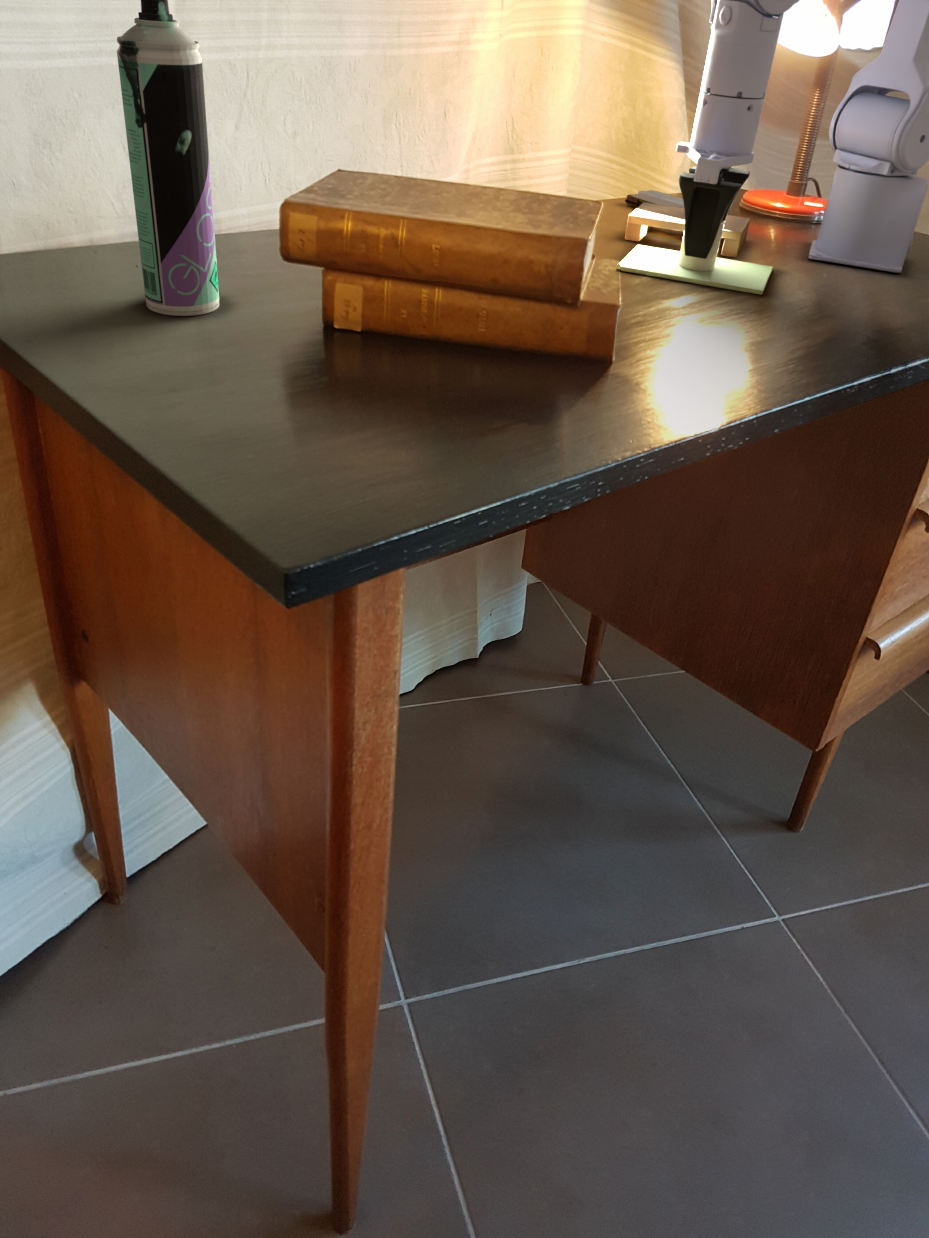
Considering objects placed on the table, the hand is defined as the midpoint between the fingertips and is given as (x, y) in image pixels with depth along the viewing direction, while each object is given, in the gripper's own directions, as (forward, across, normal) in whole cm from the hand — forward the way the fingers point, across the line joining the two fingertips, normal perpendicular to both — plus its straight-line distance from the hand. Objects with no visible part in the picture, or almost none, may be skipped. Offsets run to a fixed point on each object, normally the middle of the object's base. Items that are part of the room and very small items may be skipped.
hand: (699, 252), depth 93 cm
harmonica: (+2, -23, -6) cm, 24 cm away
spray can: (+2, +37, -34) cm, 50 cm away
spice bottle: (+1, 0, 0) cm, 1 cm away
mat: (+2, 0, 0) cm, 2 cm away
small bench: (+2, -12, -3) cm, 12 cm away
